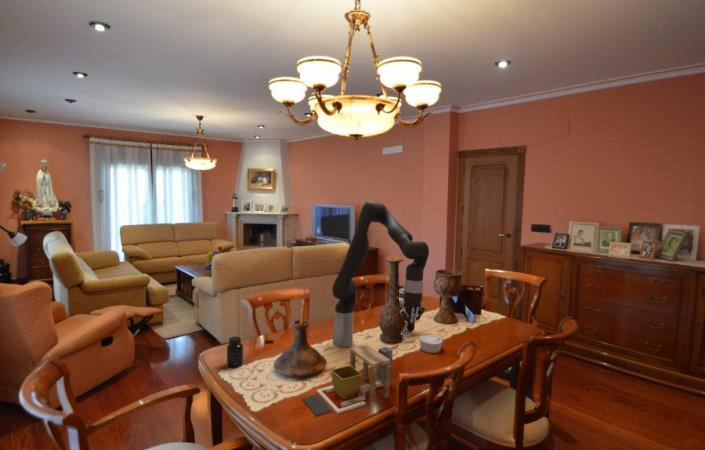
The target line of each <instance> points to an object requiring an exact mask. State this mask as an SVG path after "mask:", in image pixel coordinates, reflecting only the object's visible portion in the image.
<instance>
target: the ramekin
mask: <svg viewBox="0 0 705 450" xmlns="http://www.w3.org/2000/svg"><path fill="white" fill-rule="evenodd" d="M419 344H420V345H419V346H420V349H421V350H422V351H423V352H425V353H429V354H436V353H439V352H440V351H441V348H442V345H443V338H441V337H440V336H438V335H433V334H432V335H431V334H424V335H421V336H419Z"/></svg>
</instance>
